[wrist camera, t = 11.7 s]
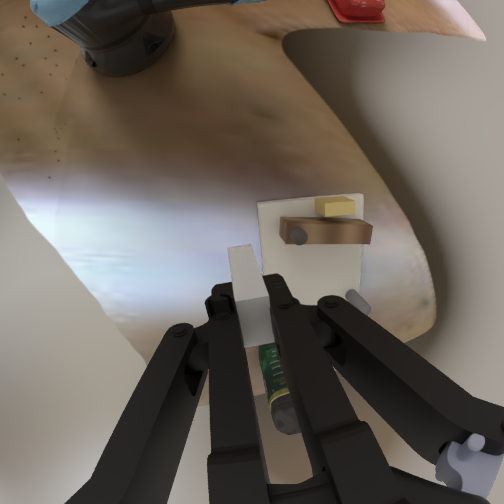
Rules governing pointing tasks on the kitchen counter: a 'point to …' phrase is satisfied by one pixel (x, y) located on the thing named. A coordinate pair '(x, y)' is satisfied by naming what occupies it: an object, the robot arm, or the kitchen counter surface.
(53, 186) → the kitchen counter surface
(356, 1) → the butter dish
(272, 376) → the coffee jar
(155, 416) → the robot arm
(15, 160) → the kitchen counter surface
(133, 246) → the kitchen counter surface
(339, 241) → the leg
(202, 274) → the kitchen counter surface
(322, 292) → the white board with blocks
